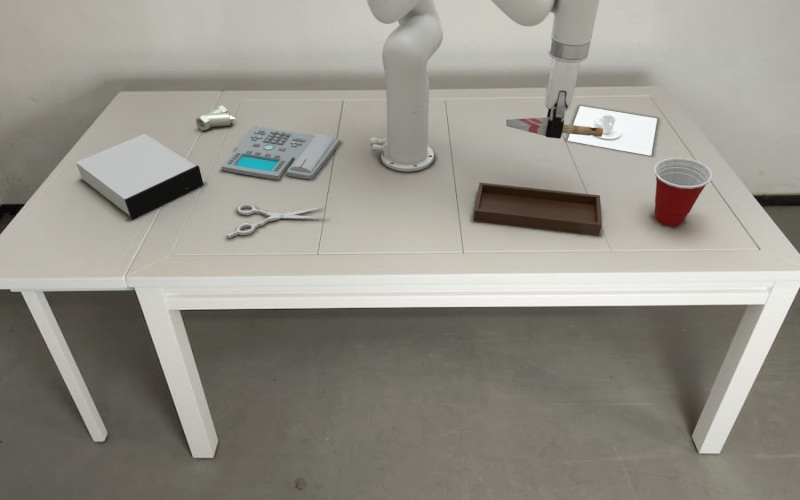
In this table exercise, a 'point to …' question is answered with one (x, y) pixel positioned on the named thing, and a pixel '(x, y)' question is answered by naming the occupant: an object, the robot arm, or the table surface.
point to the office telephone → (280, 153)
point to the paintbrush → (541, 125)
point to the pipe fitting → (215, 118)
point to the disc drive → (140, 175)
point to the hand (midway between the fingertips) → (553, 131)
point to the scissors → (271, 217)
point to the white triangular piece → (616, 130)
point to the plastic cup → (678, 188)
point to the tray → (538, 208)
